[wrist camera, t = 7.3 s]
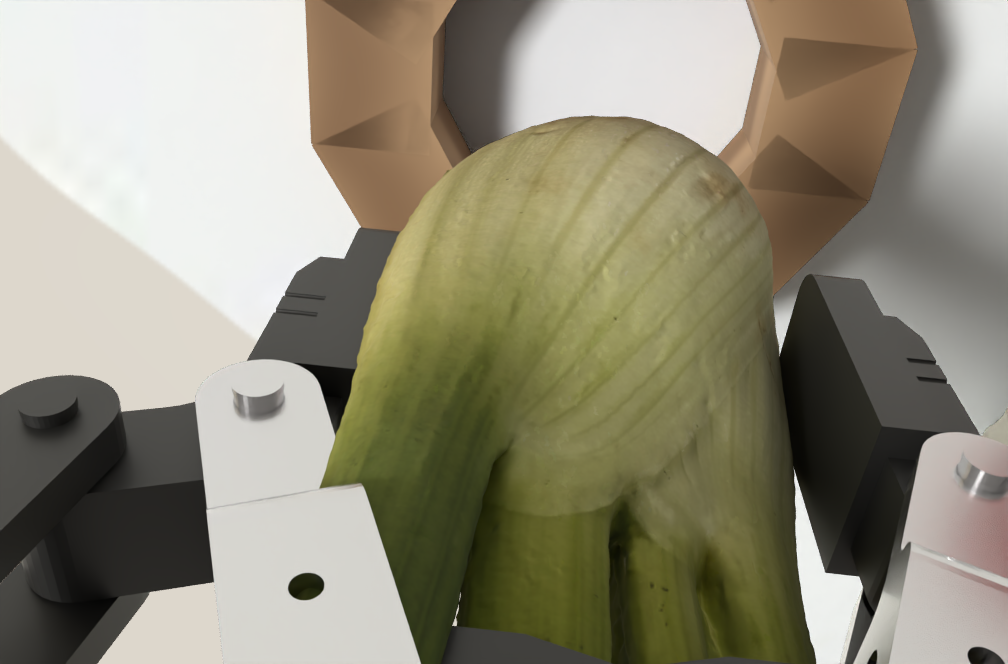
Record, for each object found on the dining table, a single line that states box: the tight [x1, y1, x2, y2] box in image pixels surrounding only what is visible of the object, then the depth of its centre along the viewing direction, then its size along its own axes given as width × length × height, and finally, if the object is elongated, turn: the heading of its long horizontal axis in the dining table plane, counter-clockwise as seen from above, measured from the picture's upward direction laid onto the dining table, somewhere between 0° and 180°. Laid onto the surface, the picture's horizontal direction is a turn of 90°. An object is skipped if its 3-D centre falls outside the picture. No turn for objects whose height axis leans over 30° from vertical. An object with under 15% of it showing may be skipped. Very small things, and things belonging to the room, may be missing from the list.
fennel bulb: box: [295, 115, 816, 664], centre depth 11 cm, size 6×5×12 cm
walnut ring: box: [305, 0, 918, 295], centre depth 22 cm, size 14×14×2 cm
